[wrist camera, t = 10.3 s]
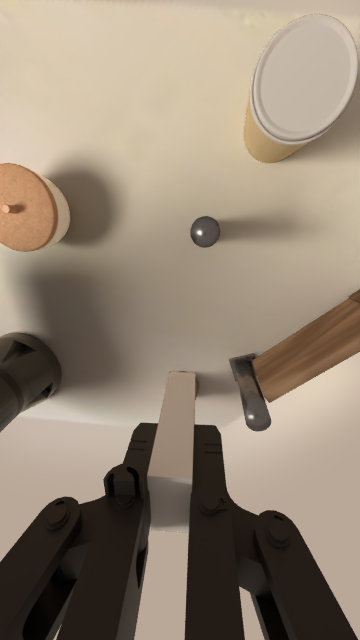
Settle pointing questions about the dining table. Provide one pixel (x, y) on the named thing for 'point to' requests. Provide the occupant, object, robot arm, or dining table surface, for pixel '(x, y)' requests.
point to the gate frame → (252, 398)
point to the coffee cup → (299, 86)
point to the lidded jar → (30, 209)
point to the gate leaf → (310, 350)
